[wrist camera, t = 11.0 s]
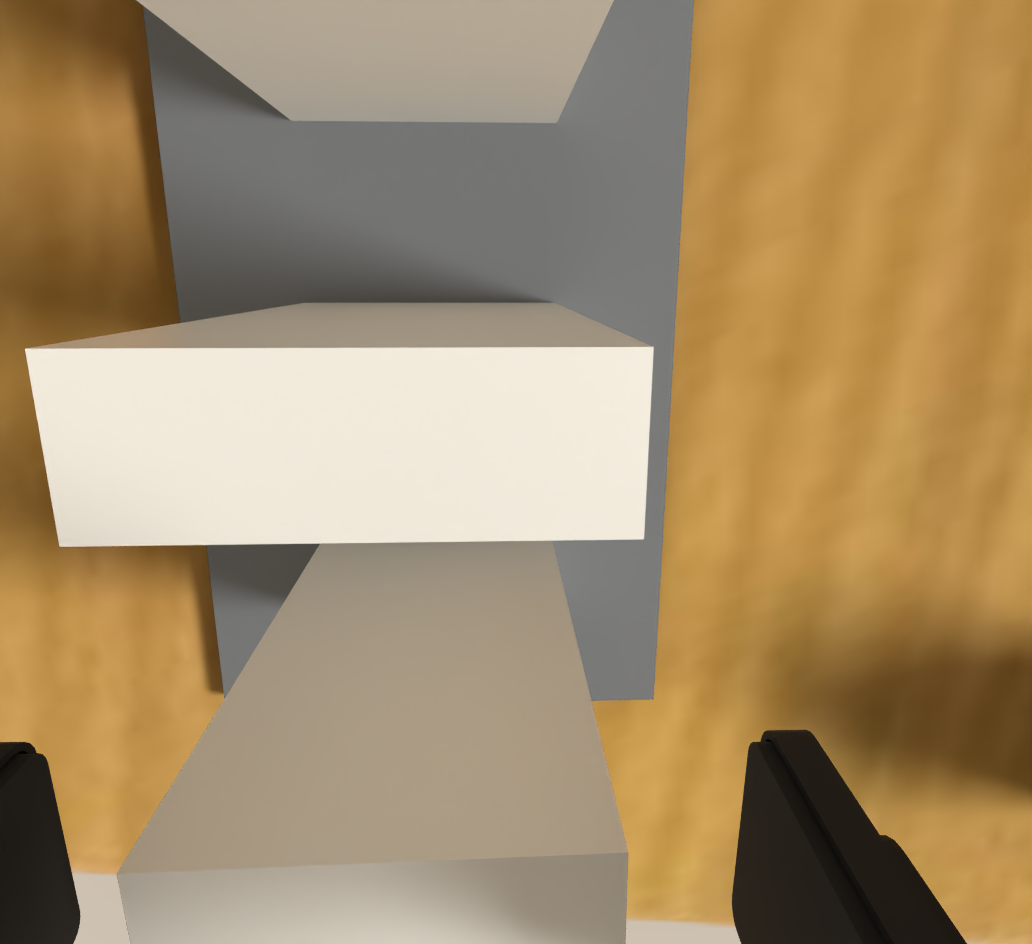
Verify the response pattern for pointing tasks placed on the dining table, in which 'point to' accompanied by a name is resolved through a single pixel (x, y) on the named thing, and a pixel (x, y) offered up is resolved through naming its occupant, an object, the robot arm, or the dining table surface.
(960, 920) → the dining table surface
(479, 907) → the domino
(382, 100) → the domino
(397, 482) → the domino
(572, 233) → the mat
